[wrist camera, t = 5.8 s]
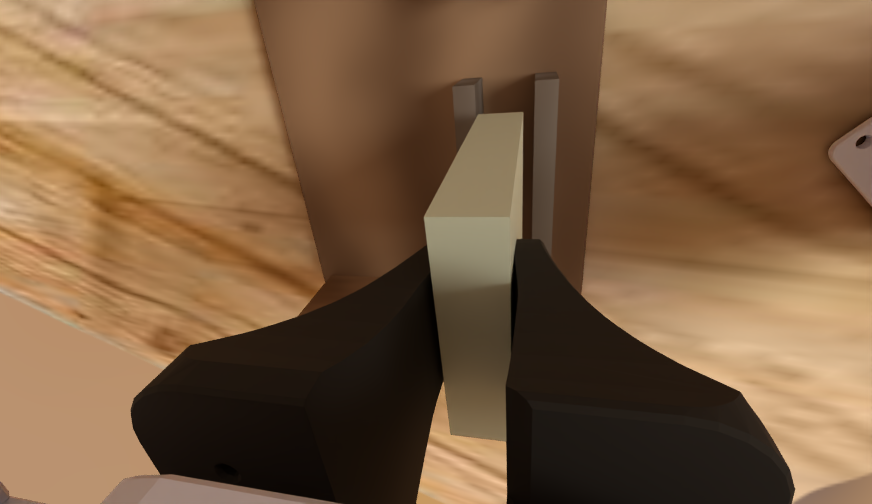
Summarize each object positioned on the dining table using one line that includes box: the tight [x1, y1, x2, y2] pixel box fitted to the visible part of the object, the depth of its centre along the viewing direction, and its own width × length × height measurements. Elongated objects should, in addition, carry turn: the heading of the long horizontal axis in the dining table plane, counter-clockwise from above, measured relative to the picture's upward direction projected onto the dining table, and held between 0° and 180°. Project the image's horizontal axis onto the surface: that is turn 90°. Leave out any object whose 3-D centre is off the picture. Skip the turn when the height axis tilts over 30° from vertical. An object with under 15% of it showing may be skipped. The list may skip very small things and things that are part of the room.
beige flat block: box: [424, 112, 523, 441], centre depth 12 cm, size 2×6×8 cm, turn 5°
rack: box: [254, 0, 607, 382], centre depth 14 cm, size 14×26×7 cm, turn 5°
